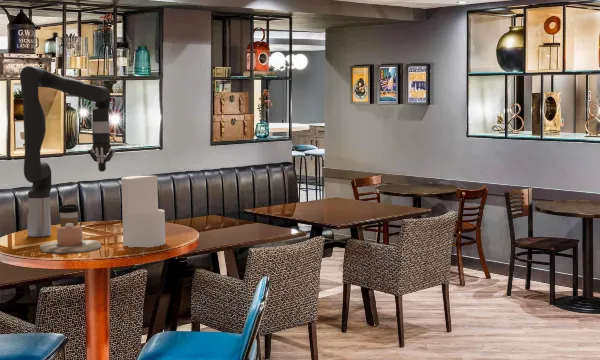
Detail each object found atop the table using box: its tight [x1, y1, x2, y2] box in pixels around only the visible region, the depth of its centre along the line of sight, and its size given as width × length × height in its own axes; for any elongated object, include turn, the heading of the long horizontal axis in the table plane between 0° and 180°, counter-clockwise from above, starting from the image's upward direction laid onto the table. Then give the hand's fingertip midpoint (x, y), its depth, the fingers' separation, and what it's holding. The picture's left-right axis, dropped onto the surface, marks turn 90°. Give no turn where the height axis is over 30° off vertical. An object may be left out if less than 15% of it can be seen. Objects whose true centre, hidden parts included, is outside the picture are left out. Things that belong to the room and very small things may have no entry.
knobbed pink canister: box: [56, 223, 84, 247], centre depth 339 cm, size 10×10×9 cm
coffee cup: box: [58, 204, 79, 227], centre depth 360 cm, size 8×8×15 cm
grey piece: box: [120, 175, 166, 248], centre depth 347 cm, size 17×17×28 cm
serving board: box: [39, 239, 102, 254], centre depth 340 cm, size 24×24×2 cm
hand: (102, 171), depth 366 cm, fingers closed
